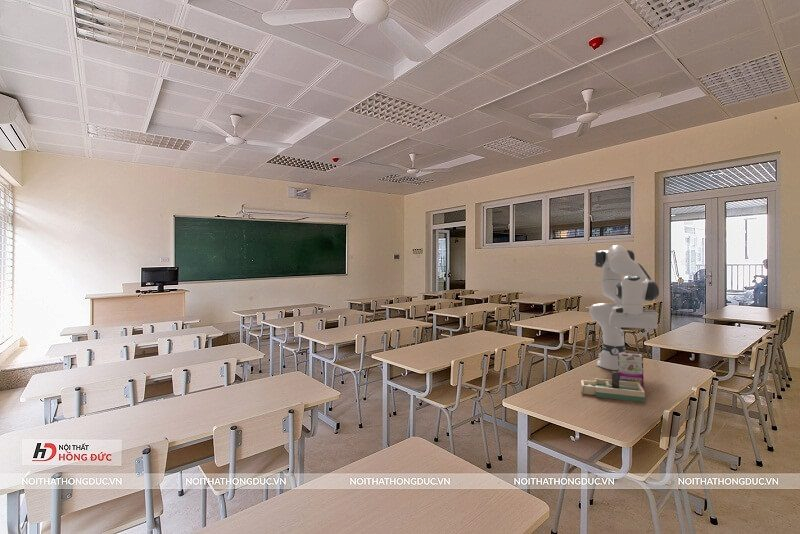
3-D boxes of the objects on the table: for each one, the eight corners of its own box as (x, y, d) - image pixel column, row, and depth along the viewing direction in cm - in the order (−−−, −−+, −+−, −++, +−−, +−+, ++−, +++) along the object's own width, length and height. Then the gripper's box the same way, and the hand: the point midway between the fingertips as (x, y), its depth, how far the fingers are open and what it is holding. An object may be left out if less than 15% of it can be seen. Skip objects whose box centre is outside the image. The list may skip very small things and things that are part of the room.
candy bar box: (642, 384, 192) (642, 353, 191) (643, 387, 187) (643, 356, 187) (618, 381, 197) (617, 351, 196) (618, 384, 192) (618, 353, 192)
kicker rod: (605, 385, 183) (605, 370, 183) (618, 387, 181) (618, 371, 181) (606, 389, 179) (606, 373, 179) (620, 390, 177) (619, 374, 176)
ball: (584, 386, 186) (589, 382, 185) (589, 391, 186) (594, 387, 185) (584, 388, 184) (590, 384, 183) (589, 393, 183) (595, 389, 182)
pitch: (580, 385, 192) (580, 376, 192) (639, 391, 181) (638, 382, 181) (582, 395, 179) (582, 385, 179) (645, 402, 169) (644, 392, 169)
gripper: (656, 308, 178) (656, 336, 179) (608, 307, 187) (608, 333, 187) (659, 310, 173) (659, 339, 173) (609, 309, 181) (610, 336, 182)
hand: (632, 336), depth 180 cm, fingers open, 8 cm apart
